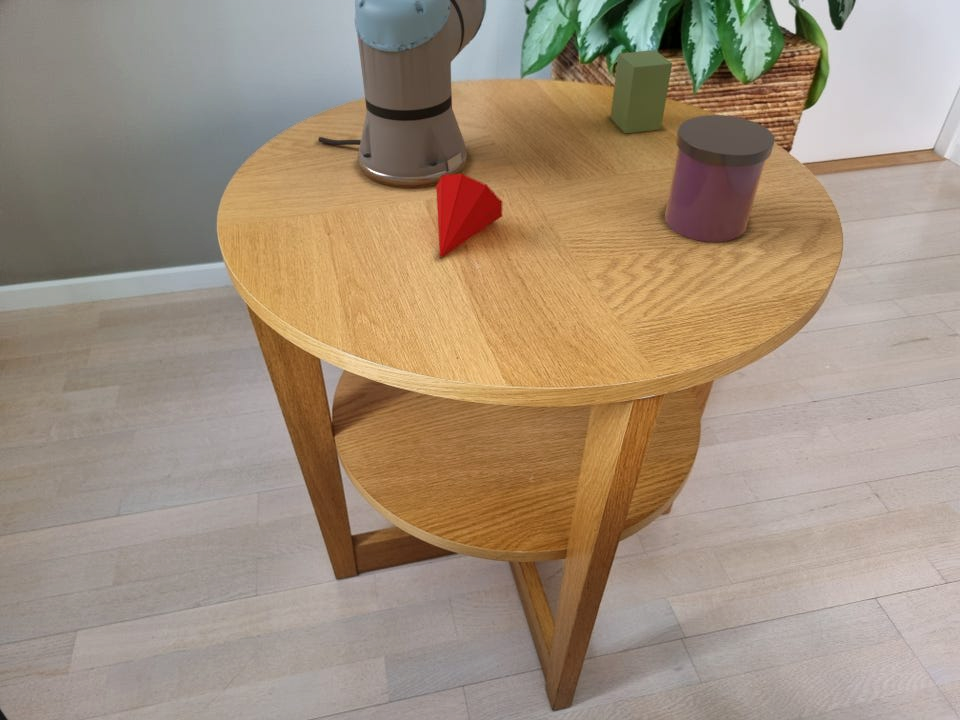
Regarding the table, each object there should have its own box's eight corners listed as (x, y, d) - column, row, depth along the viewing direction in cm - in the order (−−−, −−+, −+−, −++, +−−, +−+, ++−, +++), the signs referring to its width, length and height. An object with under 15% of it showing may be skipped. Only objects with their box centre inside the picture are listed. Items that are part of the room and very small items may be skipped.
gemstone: (484, 263, 79) (517, 193, 82) (415, 226, 77) (451, 156, 80) (463, 288, 87) (494, 224, 90) (400, 254, 85) (433, 190, 89)
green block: (624, 133, 107) (634, 67, 100) (610, 118, 111) (618, 53, 105) (661, 129, 108) (672, 63, 101) (645, 114, 112) (655, 49, 106)
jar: (657, 236, 85) (674, 148, 78) (665, 194, 93) (681, 110, 85) (749, 249, 83) (776, 160, 75) (749, 205, 91) (774, 120, 83)
